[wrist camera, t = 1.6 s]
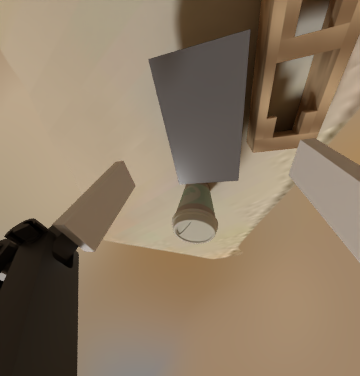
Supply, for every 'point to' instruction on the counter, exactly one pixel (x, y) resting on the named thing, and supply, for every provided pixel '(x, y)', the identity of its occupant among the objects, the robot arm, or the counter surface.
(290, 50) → the brown long open box
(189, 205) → the coffee cup
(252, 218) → the counter surface
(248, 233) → the counter surface
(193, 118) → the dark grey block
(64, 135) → the counter surface
